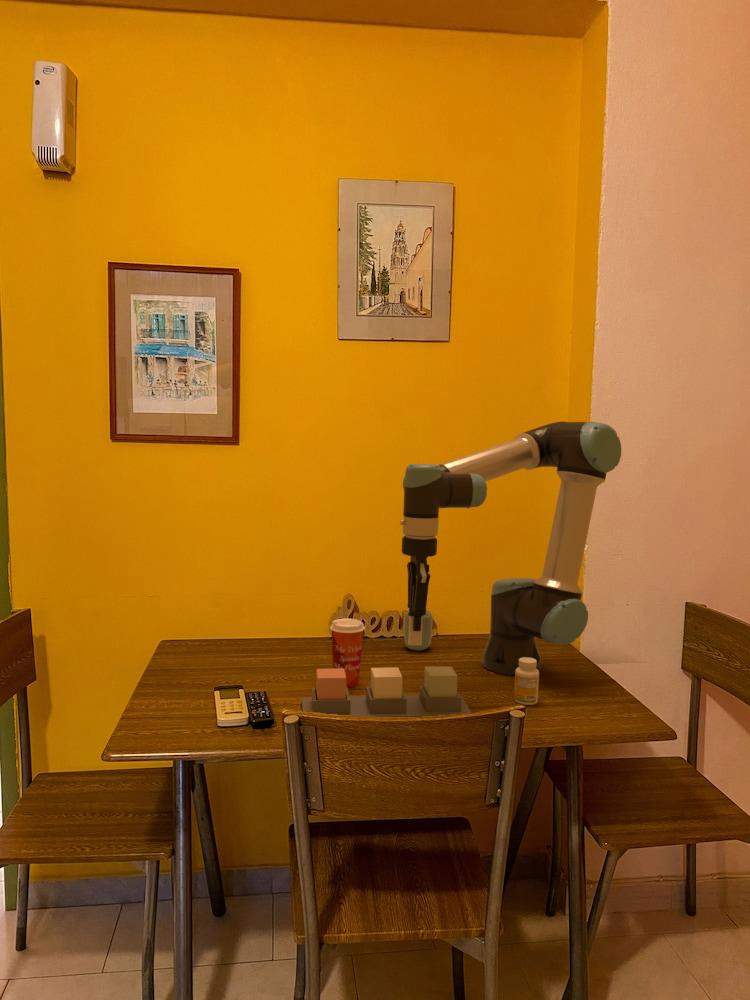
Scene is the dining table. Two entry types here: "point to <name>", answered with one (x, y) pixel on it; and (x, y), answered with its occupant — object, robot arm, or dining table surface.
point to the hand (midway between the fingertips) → (414, 644)
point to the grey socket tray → (387, 705)
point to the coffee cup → (347, 648)
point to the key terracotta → (331, 684)
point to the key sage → (440, 682)
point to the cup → (425, 632)
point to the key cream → (386, 683)
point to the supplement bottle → (526, 682)
